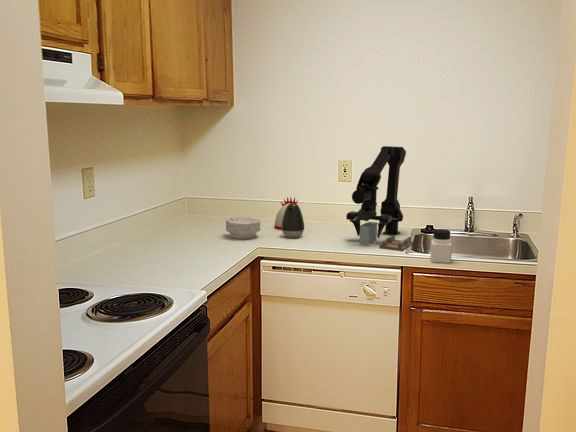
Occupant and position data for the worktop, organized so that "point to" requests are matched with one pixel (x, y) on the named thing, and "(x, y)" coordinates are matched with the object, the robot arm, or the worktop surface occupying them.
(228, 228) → the grey stone bowl
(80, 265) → the worktop surface
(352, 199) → the robot arm
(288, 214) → the black grey egg shape
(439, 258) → the medicine bottle
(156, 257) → the worktop surface
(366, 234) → the blue grey block
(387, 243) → the track board
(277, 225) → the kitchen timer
